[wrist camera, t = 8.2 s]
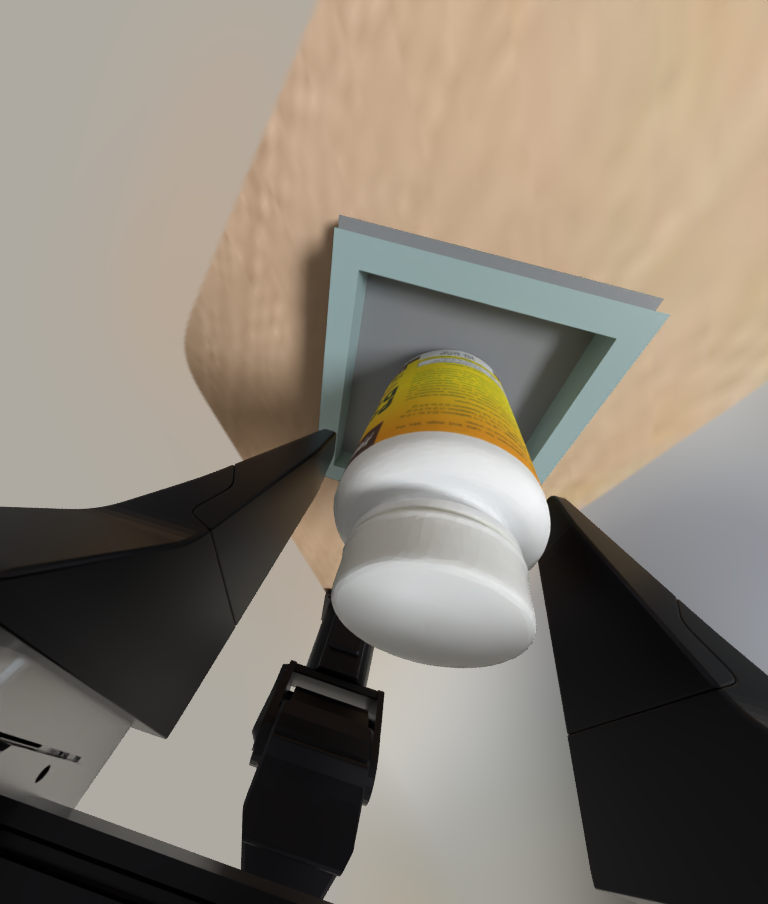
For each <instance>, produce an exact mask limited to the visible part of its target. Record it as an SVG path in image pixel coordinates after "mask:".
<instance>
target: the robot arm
mask: <svg viewBox="0 0 768 904" xmlns="http://www.w3.org/2000/svg"><path fill="white" fill-rule="evenodd" d="M336 436H337V435H336V432H335V431H331V430H328V429H322V430H320V431H317V432H315V433H312V434H310V435H307V436H305V437H302V438H300V439H297V440H295V441H292V442H290V443H287V444H285V445H282V446H279V447H277V448H274V449H272V450H269V451H267V452H264V453H262V454H259V455H257V456H254V457H252V458H249V459H247V460H244V461H242V462H239V463H237V464H235V466H234V465H231V466H229V467H226V468H224V469H221V470H219V471H216V472H213V473H210V474H208V475H205V476H203V477H200V478H197V479H194V480H190V481H187V482H184V483H181V484H178V485H175V486H172V487H169V488H166V489H162V490H159V491H156V492H153V493H150V494H146V495H143V496H140V497H137V498H134V499H131V500H127V501H124V502H121V503H117V504H113V505H109V506H104V507H99V508H90V509H52V508H51V509H50V508H21V507H0V904H333V903H330V902H327V901H324V900H323V898H324V896H325V895H326V893H327V891H328V890H329V888H330V886H331V884H332V883H333V881H334V879H335V878H336V876H341V874H342V873H343V871H344V869H345V867H346V865H347V863H348V861H349V859H350V857H351V855H352V853H353V850H354V844H355V839H356V834H357V829H358V823H359V817H360V813H361V807H362V805H364V806H366V805H367V804H368V802H369V799H370V796H371V793H372V789H373V785H374V781H375V775H376V770H377V763H378V755H379V745H380V744H379V743H380V733H381V723H382V713H383V702H384V692H383V691H380V690H378V691H376V690H373V689H370V688H367V687H366V685H367V680H368V675H369V670H370V665H371V660H372V655H373V650H374V646H372V645H370V644H368V643H366V642H365V641H363V640H362V639H360V638H359V637H357V636H356V635H355V634H354V633H352V632H351V631H350V630H349V629H348V628H347V627H346V626H345V625H344V624H343V623H342V622H341V621H340V619H339V618H338V616H337V615H336V613H335V611H334V609H333V606H332V601H331V592H332V591H331V590H328V591H327V592H326V595H325V601H324V606H323V612H322V618H321V619H322V624H321V627H320V630H319V632H318V635H317V638H316V641H315V643H314V646H313V649H312V652H311V654H310V657H309V660H308V663H307V666H303V665H300V664H297V662H296V661H293V660H291V662H290V664H283V665H282V668H281V670H280V673H279V675H278V677H277V680H276V682H275V684H274V687H273V689H272V691H271V693H270V695H269V697H268V699H267V701H266V703H265V705H264V707H263V709H262V711H261V713H260V715H259V717H258V719H257V721H256V723H255V725H254V728H253V730H252V734H253V739H254V745H253V748H252V751H253V753H252V756H251V760H250V764H249V765H251V766H253V767H256V768H257V769H256V772H255V775H254V778H253V780H252V783H251V786H250V788H249V791H248V793H247V796H246V799H245V802H244V805H243V818H242V819H243V820H242V852H241V854H242V855H241V870H240V869H237V868H234V867H231V866H229V865H226V864H223V863H220V862H218V861H215V860H212V859H209V858H206V857H204V856H201V855H198V854H196V853H193V852H190V851H187V850H185V849H182V848H179V847H176V846H174V845H171V844H168V843H166V842H163V841H160V840H157V839H154V838H152V837H149V836H146V835H144V834H141V833H138V832H135V831H133V830H130V829H127V828H124V827H122V826H119V825H116V824H114V823H111V822H108V821H105V820H103V819H100V818H97V817H94V816H92V815H89V814H86V813H83V812H81V811H78V810H75V809H74V808H75V806H76V805H77V804H78V802H79V801H80V799H81V798H82V796H83V795H84V793H85V792H86V791H87V789H88V788H89V786H90V785H91V783H92V782H93V780H94V779H95V778H96V776H97V774H98V773H99V772H100V770H101V769H102V767H103V766H104V764H105V763H106V762H107V760H108V759H109V757H110V756H111V754H112V753H113V751H114V750H115V748H116V747H117V746H118V744H119V743H120V741H121V740H122V738H123V737H124V735H125V734H126V732H127V731H128V730H129V728H130V727H132V728H135V729H138V730H141V731H144V732H146V733H150V734H152V735H155V736H158V737H161V738H164V739H167V738H168V736H169V735H170V733H171V732H172V730H173V728H174V727H175V725H176V724H177V722H178V720H179V719H180V717H181V715H182V714H183V712H184V710H185V709H186V707H187V706H188V704H189V702H190V701H191V699H192V697H193V696H194V694H195V692H196V691H197V689H198V688H199V686H200V684H201V682H202V681H203V679H204V678H205V676H206V674H207V673H208V671H209V669H210V668H211V666H212V665H213V663H214V661H215V660H216V658H217V656H218V655H219V653H220V652H221V650H222V648H223V647H224V645H225V643H226V642H227V640H228V638H229V637H230V635H231V634H232V632H233V630H234V629H235V625H237V624H238V622H239V620H240V619H241V617H242V615H243V614H244V612H245V610H246V609H247V607H248V606H249V604H250V602H251V601H252V599H253V597H254V596H255V594H256V592H257V591H258V589H259V587H260V586H261V584H262V583H263V581H264V579H265V578H266V576H267V574H268V573H269V571H270V570H271V568H272V566H273V565H274V563H275V561H276V559H277V558H278V556H279V555H280V553H281V552H282V550H283V548H284V546H285V545H286V543H287V542H288V540H289V539H290V537H291V535H292V534H293V532H294V530H295V529H296V527H297V525H298V524H299V522H300V521H301V519H302V517H303V516H304V514H305V512H306V511H307V509H308V508H309V506H310V504H311V503H312V501H313V499H314V498H315V496H316V494H317V492H318V490H319V488H320V486H321V483H322V481H323V479H324V477H325V474H326V472H327V470H328V468H329V465H330V463H331V461H332V459H333V456H334V452H335V444H336ZM546 502H547V505H548V509H549V515H550V535H549V539H548V542H547V545H546V548H545V550H544V552H543V554H542V556H541V557H540V559H539V560H538V564H539V571H540V576H541V582H542V588H543V594H544V600H545V606H546V612H547V617H548V623H549V629H550V635H551V640H552V646H553V652H554V658H555V664H556V670H557V676H558V681H559V687H560V694H561V699H562V704H563V711H564V717H565V722H566V729H567V733H568V734H569V735H568V742H569V747H570V753H571V759H572V765H573V771H574V776H575V782H576V788H577V794H578V800H579V806H580V811H581V817H582V823H583V829H584V834H585V841H586V846H587V852H588V858H589V864H590V870H591V875H592V879H593V883H594V887H595V888H596V889H597V890H599V891H602V892H605V893H608V894H611V895H614V896H617V897H620V898H622V899H625V900H628V901H631V902H634V903H637V904H768V675H766V674H765V673H764V672H763V671H762V670H761V669H759V668H758V667H757V666H756V665H754V664H753V663H752V662H751V661H750V660H749V659H747V658H746V657H745V656H744V655H743V654H741V653H740V652H739V651H738V650H737V649H735V648H734V647H733V646H732V645H731V644H729V643H728V642H727V641H726V640H725V639H724V638H722V637H721V636H720V635H719V634H718V633H716V632H715V631H714V630H713V629H712V628H711V627H710V626H708V625H707V624H706V623H705V622H704V621H703V620H702V619H700V618H699V617H698V616H697V615H696V614H695V613H694V612H692V611H691V610H690V609H689V608H688V607H687V606H686V605H685V604H683V603H682V602H681V601H680V600H678V599H676V597H675V596H674V595H673V594H672V593H671V592H670V591H669V590H668V589H667V588H665V587H664V586H663V585H662V584H661V583H660V582H659V581H657V580H656V579H655V578H654V577H653V576H652V575H651V574H650V573H649V572H647V571H646V570H645V569H644V568H643V567H642V566H641V565H640V564H638V563H637V562H636V561H635V560H634V559H633V558H632V557H630V556H629V555H628V554H627V553H626V552H625V551H624V550H623V549H622V548H620V547H619V546H618V545H617V544H616V543H615V542H614V541H613V540H611V539H610V538H609V537H608V536H607V535H606V534H605V533H604V532H603V531H601V530H600V529H599V528H598V527H597V526H595V524H594V523H592V522H591V521H590V520H589V519H588V518H587V517H586V516H585V515H583V514H582V513H581V512H580V511H579V510H578V509H577V508H576V507H574V506H573V505H572V504H571V503H570V502H569V501H568V500H566V499H564V498H561V497H557V496H551V497H549V498H548V499H547V501H546ZM291 686H293V687H296V688H295V690H294V692H292V691H289V690H290V688H291Z"/></svg>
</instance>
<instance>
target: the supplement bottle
mask: <svg viewBox="0 0 768 904" xmlns="http://www.w3.org/2000/svg"><path fill="white" fill-rule="evenodd" d="M334 517H335V523H336V527H337V530H338V532H339V534H340V537H341V539H342V541H343V542H344V544H345V546H344V548H343V554H342V560H341V563H340V566H339V569H338V572H337V574H336V577H335V580H334V583H333V587H332V592H331V601H332V606H333V609H334V611H335V613H336V615H337V616H338V618H339V619H340V621H341V622H342V623H343V624H344V625H345V626H346V627H347V628H348V629H349V630H350V631H351V632H352V633H354V634H355V635H356V636H357V637H359V638H360V639H362V640H363V641H365V642H366V643H368V644H370V645H372V646H374V647H376V648H378V649H380V650H382V651H385V652H387V653H389V654H392V655H394V656H397V657H400V658H403V659H407V660H410V661H413V662H417V663H422V664H427V665H433V666H441V667H453V668H476V667H486V666H492V665H496V664H500V663H503V662H505V661H508V660H510V659H513V658H516V657H517V656H519V655H520V654H522V653H523V652H524V651H525V650H527V649H528V647H529V646H530V645H531V644H532V642H533V640H534V637H535V635H536V617H535V612H534V608H533V603H532V599H531V595H530V589H529V585H528V580H529V574H528V571H529V570H530V569H531V568H532V567H533V566H534V565H535V564H536V563H537V561H538V560H539V559H540V557H541V556H542V554H543V552H544V550H545V548H546V545H547V542H548V539H549V535H550V515H549V509H548V505H547V502H546V498H545V495H544V492H543V489H542V486H541V484H540V481H539V479H538V476H537V474H536V471H535V468H534V466H533V463H532V461H531V458H530V456H529V453H528V451H527V448H526V445H525V443H524V440H523V438H522V436H521V433H520V430H519V428H518V425H517V423H516V420H515V418H514V415H513V413H512V410H511V408H510V405H509V402H508V400H507V397H506V394H505V391H504V389H503V387H502V385H501V382H500V380H499V378H498V377H497V375H496V373H495V372H494V371H493V370H492V369H491V368H490V367H489V366H488V365H487V364H486V363H485V362H484V361H482V360H481V359H479V358H477V357H475V356H474V355H471V354H469V353H466V352H462V351H457V350H436V351H431V352H427V353H424V354H421V355H419V356H417V357H415V358H413V359H412V360H410V361H409V362H407V363H406V364H405V365H404V366H403V367H401V369H400V370H399V371H398V372H397V373H396V374H395V376H394V377H393V379H392V380H391V382H390V384H389V386H388V387H387V389H386V391H385V393H384V395H383V397H382V399H381V401H380V403H379V405H378V407H377V409H376V411H375V413H374V415H373V416H372V418H371V421H370V422H369V424H368V426H367V428H366V430H365V432H364V434H363V436H362V438H361V440H360V442H359V444H358V446H357V448H356V450H355V452H354V454H353V456H352V458H351V459H350V461H349V463H348V465H347V467H346V469H345V471H344V473H343V475H342V477H341V480H340V482H339V485H338V487H337V490H336V494H335V498H334Z"/></svg>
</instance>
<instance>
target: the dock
mask: <svg viewBox="0 0 768 904" xmlns="http://www.w3.org/2000/svg"><path fill="white" fill-rule="evenodd" d="M662 301H663V298H659V297H655V296H651V295H647V294H643V293H640V292H636V291H632V290H628V289H624V288H620V287H616V286H613V285H609V284H605V283H601V282H597V281H593V280H589V279H586V278H582V277H578V276H574V275H570V274H566V273H562V272H558V271H555V270H551V269H547V268H543V267H539V266H535V265H531V264H528V263H524V262H520V261H516V260H512V259H508V258H504V257H501V256H497V255H493V254H489V253H485V252H481V251H477V250H474V249H470V248H466V247H462V246H458V245H454V244H450V243H447V242H443V241H439V240H435V239H431V238H427V237H423V236H420V235H416V234H412V233H408V232H404V231H400V230H396V229H393V228H389V227H385V226H381V225H377V224H373V223H369V222H366V221H362V220H358V219H354V218H350V217H346V216H342V215H339V222H338V228H336V227H334V240H333V253H332V265H331V278H330V291H329V303H328V316H327V329H326V342H325V354H324V367H323V380H322V392H321V405H320V418H319V430H318V431H320V430H322V429H328V430H331V431H335V432H336V435H337V436H336V444H335V452H334V456H333V459H332V461H331V463H330V465H329V468H328V470H327V472H326V474H325V477H328V478H331V479H335V480H338V481H340V480H341V477H342V475H343V473H344V471H345V469H346V467H347V465H348V463H349V461H350V459H351V458H352V456H353V454H354V452H355V450H356V448H357V446H358V444H359V442H360V440H361V438H362V436H363V434H364V432H365V430H366V428H367V426H368V424H369V422H370V421H371V418H372V416H373V415H374V413H375V411H376V409H377V407H378V405H379V403H380V401H381V399H382V397H383V395H384V393H385V391H386V389H387V387H388V386H389V384H390V382H391V380H392V379H393V377H394V376H395V374H396V373H397V372H398V371H399V370H400V369H401V367H403V366H404V365H405V364H406V363H407V362H409V361H410V360H412V359H413V358H415V357H417V356H419V355H421V354H424V353H427V352H431V351H436V350H457V351H462V352H466V353H469V354H471V355H474V356H475V357H477V358H479V359H481V360H482V361H484V362H485V363H486V364H487V365H488V366H489V367H490V368H491V369H492V370H493V371H494V372H495V373H496V375H497V377H498V378H499V380H500V382H501V385H502V387H503V389H504V391H505V394H506V397H507V400H508V402H509V405H510V408H511V410H512V413H513V415H514V418H515V420H516V423H517V425H518V428H519V430H520V433H521V436H522V438H523V440H524V443H525V445H526V448H527V451H528V453H529V456H530V458H531V461H532V463H533V466H534V468H535V471H536V474H537V476H538V479H539V481H540V484H541V485H542V484H543V482H544V481H545V480H546V478H547V477H548V476H549V474H550V473H551V472H552V470H553V469H554V468H555V466H556V465H557V464H558V462H559V461H560V460H561V458H562V457H563V456H564V454H565V453H566V452H567V450H568V449H569V448H570V447H571V445H572V444H573V443H574V441H575V440H576V439H577V437H578V436H579V435H580V433H581V432H582V431H583V429H584V428H585V427H586V425H587V424H588V423H589V421H590V420H591V419H592V417H593V416H594V415H595V413H596V412H597V411H598V410H599V408H600V407H601V406H602V404H603V403H604V402H605V400H606V399H607V398H608V396H609V395H610V394H611V392H612V391H613V390H614V388H615V387H616V386H617V384H618V383H619V382H620V380H621V379H622V378H623V377H624V375H625V374H626V373H627V371H628V370H629V369H630V367H631V366H632V365H633V363H634V362H635V361H636V359H637V358H638V357H639V355H640V354H641V353H642V351H643V350H644V349H645V347H646V346H647V345H648V343H649V342H650V341H651V340H652V338H653V337H654V336H655V334H656V333H657V332H658V330H659V329H660V328H661V326H662V325H663V324H664V322H665V321H666V320H667V318H668V317H669V316H670V315H669V314H665V313H661V312H657V311H655V310H656V309H657V308H658V306H659V305H660V303H661V302H662Z"/></svg>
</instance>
